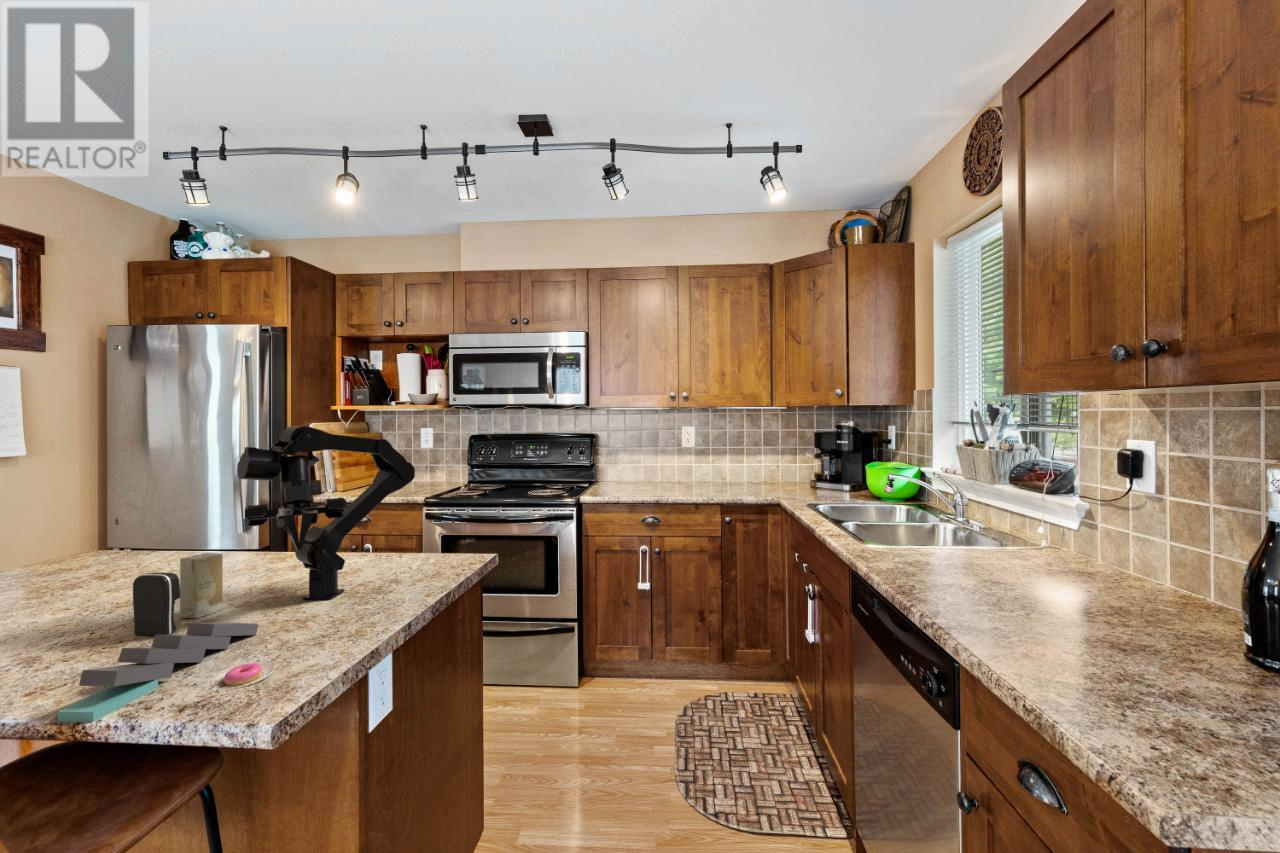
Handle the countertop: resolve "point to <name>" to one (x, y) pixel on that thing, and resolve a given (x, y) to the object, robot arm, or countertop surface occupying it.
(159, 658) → the domino
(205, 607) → the skincare box
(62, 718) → the domino
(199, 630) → the domino
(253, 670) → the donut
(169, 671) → the domino
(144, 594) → the black rounded upright block
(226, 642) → the domino
